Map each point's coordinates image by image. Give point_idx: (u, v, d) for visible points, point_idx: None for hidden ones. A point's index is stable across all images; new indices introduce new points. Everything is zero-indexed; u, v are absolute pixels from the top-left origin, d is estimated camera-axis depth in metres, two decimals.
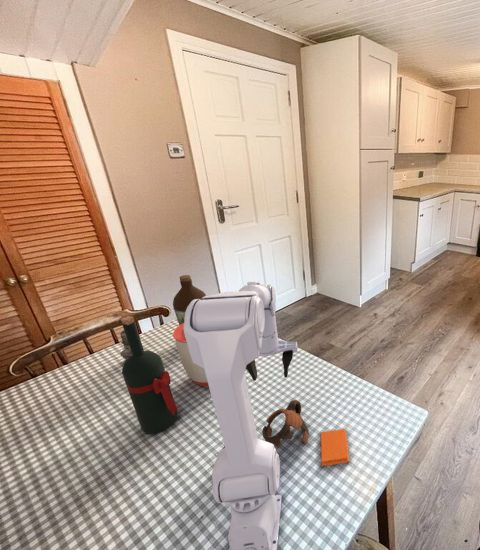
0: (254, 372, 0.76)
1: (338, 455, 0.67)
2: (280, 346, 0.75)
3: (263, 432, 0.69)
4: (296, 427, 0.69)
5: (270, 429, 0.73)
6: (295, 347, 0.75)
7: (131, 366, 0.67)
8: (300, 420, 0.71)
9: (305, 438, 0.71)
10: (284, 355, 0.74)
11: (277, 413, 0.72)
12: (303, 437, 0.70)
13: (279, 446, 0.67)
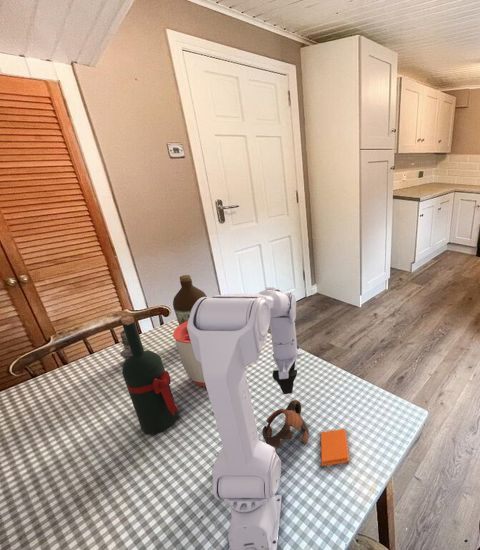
0: None
1: (338, 455, 0.67)
2: (283, 362, 0.72)
3: (263, 432, 0.69)
4: (296, 427, 0.69)
5: (270, 429, 0.73)
6: (278, 373, 0.68)
7: (131, 366, 0.67)
8: (300, 420, 0.71)
9: (305, 438, 0.71)
10: (278, 371, 0.72)
11: (277, 413, 0.72)
12: (303, 437, 0.70)
13: (279, 446, 0.67)
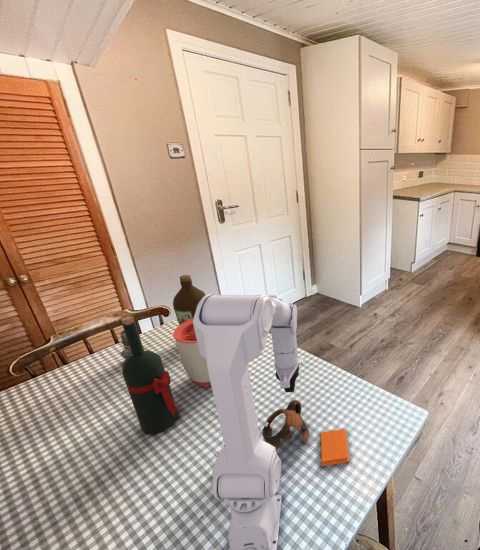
0: None
1: (338, 455, 0.67)
2: (284, 371, 0.73)
3: (263, 432, 0.69)
4: (296, 427, 0.69)
5: (270, 429, 0.73)
6: (280, 382, 0.70)
7: (131, 366, 0.67)
8: (300, 420, 0.71)
9: (305, 438, 0.71)
10: None
11: (277, 413, 0.72)
12: (303, 437, 0.70)
13: (279, 446, 0.67)
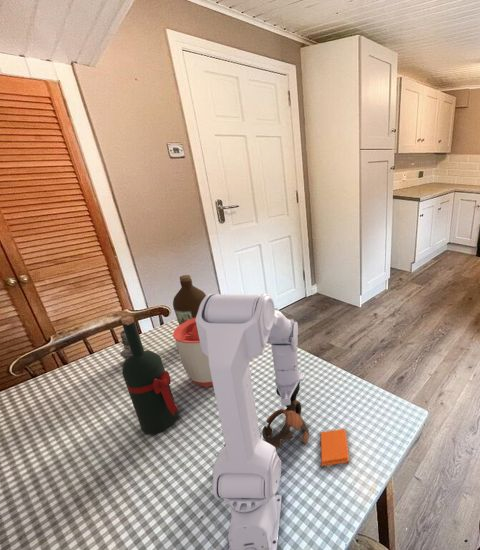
0: None
1: (338, 455, 0.67)
2: (285, 387, 0.73)
3: (263, 432, 0.69)
4: (296, 427, 0.69)
5: (270, 429, 0.73)
6: (281, 400, 0.69)
7: (131, 366, 0.67)
8: (300, 420, 0.71)
9: (305, 438, 0.70)
10: None
11: (277, 413, 0.72)
12: (303, 437, 0.70)
13: (279, 446, 0.67)
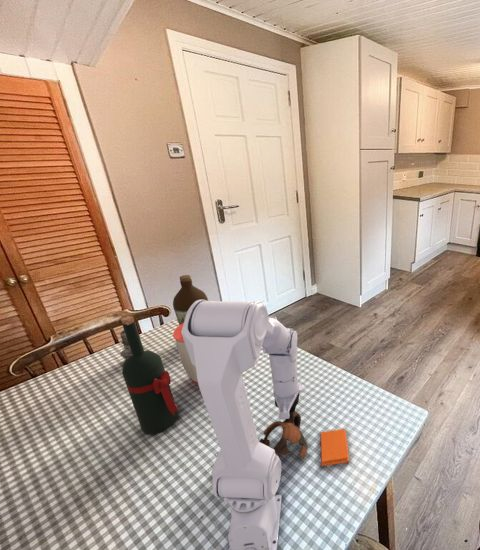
0: None
1: (338, 455, 0.67)
2: (284, 399, 0.69)
3: None
4: (293, 442, 0.66)
5: (267, 441, 0.70)
6: (279, 413, 0.66)
7: (131, 366, 0.67)
8: (298, 434, 0.68)
9: (302, 453, 0.67)
10: None
11: (275, 425, 0.69)
12: (301, 452, 0.67)
13: None
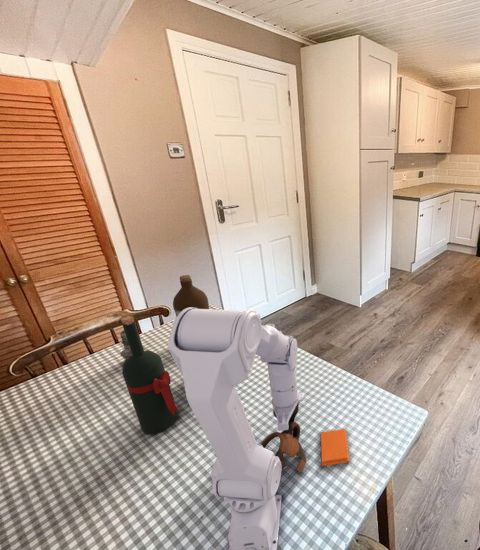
0: None
1: (338, 455, 0.67)
2: (283, 409, 0.67)
3: None
4: (291, 455, 0.63)
5: None
6: None
7: (131, 366, 0.67)
8: (296, 447, 0.65)
9: (300, 467, 0.64)
10: None
11: (272, 436, 0.66)
12: (298, 466, 0.64)
13: None
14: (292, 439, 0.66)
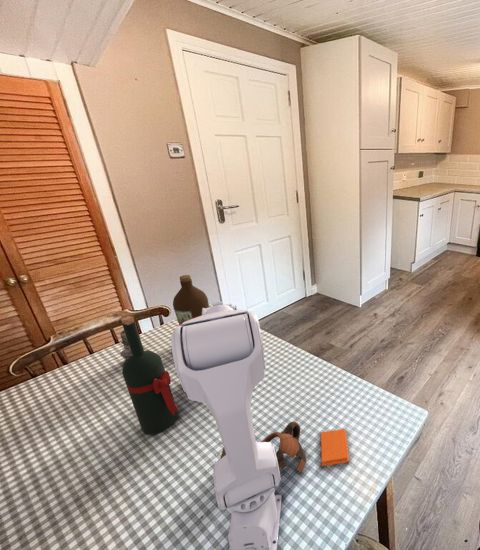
0: None
1: (338, 455, 0.67)
2: None
3: None
4: (290, 455, 0.63)
5: None
6: None
7: (131, 366, 0.67)
8: (296, 447, 0.65)
9: (300, 467, 0.64)
10: None
11: (272, 436, 0.66)
12: (298, 466, 0.64)
13: None
14: (292, 439, 0.66)
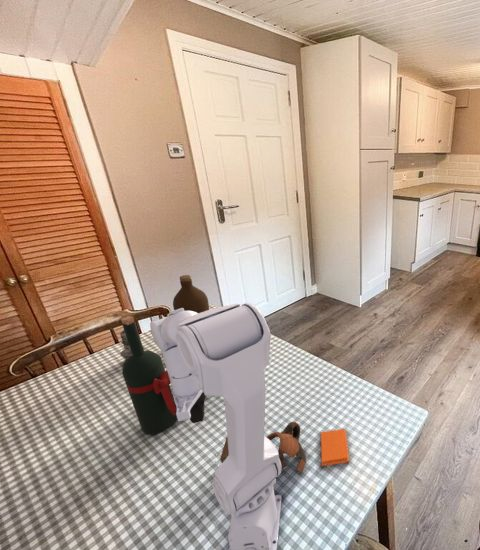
0: None
1: (338, 455, 0.67)
2: (185, 398, 0.60)
3: None
4: (290, 455, 0.63)
5: None
6: None
7: (131, 366, 0.67)
8: (296, 447, 0.65)
9: (300, 467, 0.64)
10: None
11: (272, 436, 0.66)
12: (298, 466, 0.64)
13: None
14: (292, 439, 0.66)
